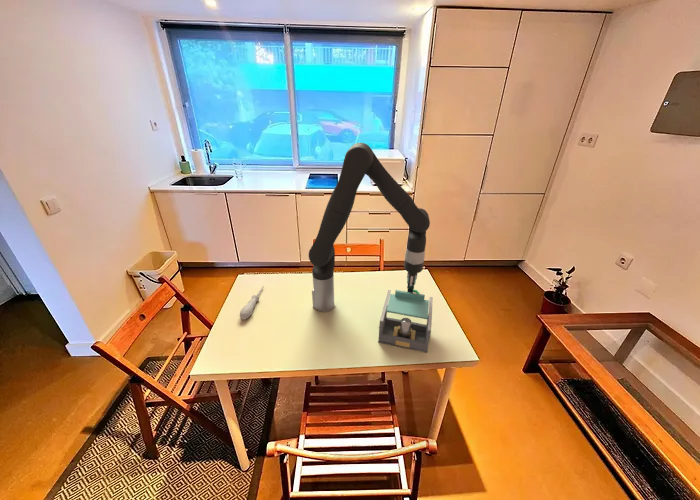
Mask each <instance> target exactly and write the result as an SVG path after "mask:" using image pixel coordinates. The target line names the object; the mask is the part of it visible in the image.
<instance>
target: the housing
mask: <svg viewBox="0 0 700 500" xmlns="http://www.w3.org/2000/svg"><path fill="white" fill-rule="evenodd" d="M390 294H392V293H391V290H390V289H387V293H386V297H385V301H384V304H383V307H382V311H381V315H380V319H379V327H378V330H379V332H378V341H377V343H380V344H384V345H389V346H395V347H398V348H403V349H408V350H413V351H418V352H422V353H428V349H429V343H430V338H431V333H432V325H433V324H432V320H433V299H434V298H433V296H429V308H428V320H427V319H426V324H424V323H419V322H413V321H411V329H410V337H409V339H407V338H402V337H399V334H400V325H401V319H397V318H393V317H387V313H388V312H386V310H387V306H388V302H389V298H390Z"/></svg>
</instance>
